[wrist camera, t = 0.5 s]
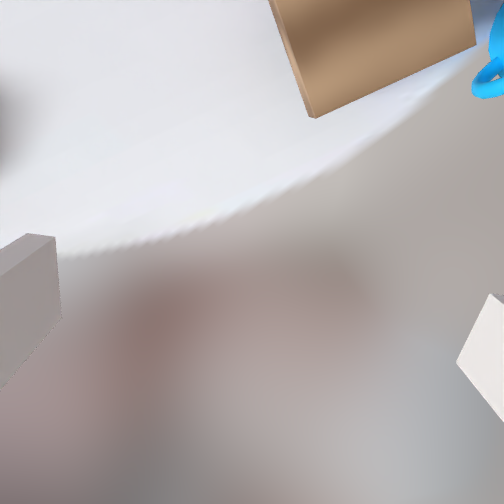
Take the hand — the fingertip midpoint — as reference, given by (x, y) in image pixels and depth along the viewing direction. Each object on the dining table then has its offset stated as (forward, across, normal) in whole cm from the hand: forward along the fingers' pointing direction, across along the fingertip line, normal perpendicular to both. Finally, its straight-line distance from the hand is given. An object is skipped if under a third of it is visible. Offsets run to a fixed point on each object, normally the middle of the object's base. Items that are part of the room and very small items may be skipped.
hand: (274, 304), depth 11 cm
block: (+20, +5, +13) cm, 24 cm away
